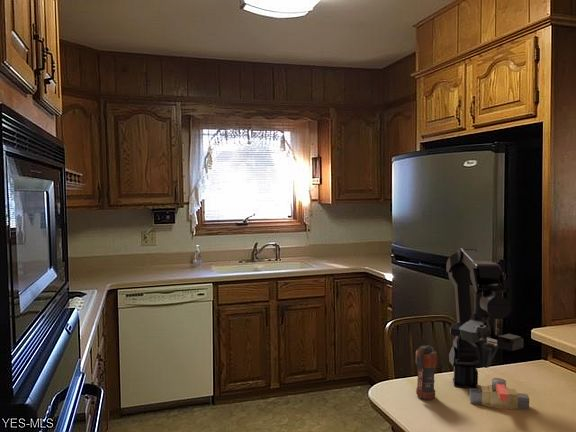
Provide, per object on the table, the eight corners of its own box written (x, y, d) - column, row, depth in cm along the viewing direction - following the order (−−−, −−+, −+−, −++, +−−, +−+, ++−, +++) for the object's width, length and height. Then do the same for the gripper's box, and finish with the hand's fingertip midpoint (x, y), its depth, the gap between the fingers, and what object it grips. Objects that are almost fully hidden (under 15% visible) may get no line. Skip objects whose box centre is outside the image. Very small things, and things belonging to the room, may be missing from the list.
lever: (491, 385, 137) (491, 377, 137) (504, 386, 136) (504, 378, 136) (496, 400, 127) (496, 392, 127) (511, 402, 126) (511, 393, 126)
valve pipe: (470, 404, 135) (471, 389, 134) (469, 397, 140) (469, 382, 139) (529, 411, 131) (530, 395, 130) (526, 403, 136) (526, 388, 135)
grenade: (408, 398, 139) (409, 347, 138) (421, 390, 144) (422, 341, 144) (427, 404, 135) (428, 351, 134) (440, 396, 140) (440, 345, 140)
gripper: (437, 307, 133) (436, 362, 134) (500, 321, 118) (499, 384, 118) (462, 302, 140) (461, 355, 140) (525, 315, 124) (524, 375, 125)
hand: (484, 366), depth 131 cm, fingers closed
